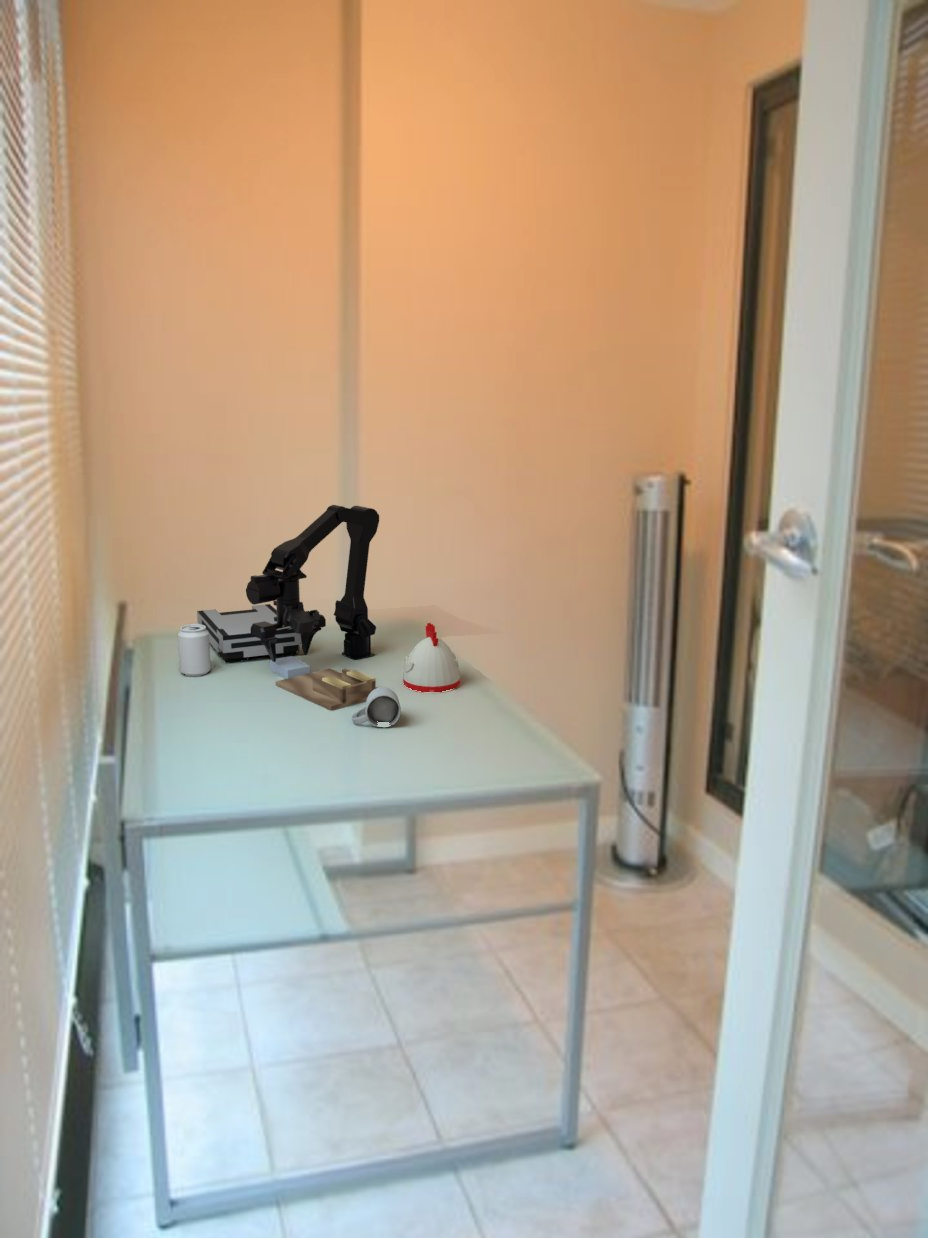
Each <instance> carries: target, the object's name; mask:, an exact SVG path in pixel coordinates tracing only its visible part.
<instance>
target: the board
mask: <svg viewBox="0 0 928 1238" xmlns="http://www.w3.org/2000/svg"><path fill="white" fill-rule="evenodd" d="M376 679H377V678H376V677H373V676H370V675H369V674H366V673H363V672H360V671H358V670H356V669H355V670H350V669H347V668H342V669H341V672H339V671H337V670H335V669H332V668H326V669H321V670H318V671H313V672H310V673H309V674H305V675H300V676H296V677H292V678H288V679H285V678H283V679H280V680H276V681H275V686H276V687H278V688H281V689H282V690H285V691H287V692H289V693H291V694H293V695H296V696H298V697H301V698H303V699H304V700H307V701H309V702H311V703H313V704H315V705H318V706H320V707H322V708H324V709H327V710H329V711H330V712H331V711H334V710H338V709H339V710H340V709H342V708H347V707H350V706H354V705H357V704H360V703H364V702H365V703H366V700H367V697H368V695H369V694H370V693H371V692H372V691H373V690H374V689H376V688H378V687H377V686H376V683H377V682H376V681H377V680H376Z"/></svg>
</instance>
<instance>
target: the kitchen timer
mask: <svg viewBox="0 0 928 1238" xmlns="http://www.w3.org/2000/svg"><path fill="white" fill-rule="evenodd" d="M424 626H425V625H424ZM437 634H438V633H437V631H436V626H435V625H434V624H433V623H432V622H427V624H426V626H425V635H426V637H425V638H423V639H422V640H420V641H419V642H418V643H417V644H416V645H415V646H414V647H413V649H412V651H411V652H410V654H409V656H408V655H406V656H405V659H404V666H403V676H402V678H403V679H402V684H403V683H404V684H403V686H404V685H405V686H406V687H408V688H411V689H412V690H417V691H421V692H420V693H424V692H440V693H443V692H442V691H446V690H450V689H453V688H456V687H457V688H459V687H458V685H459V684H460V685H461V675H460V666H459V660H458V657H457V656H456V655H455V653H454V652H453V651H452V649H451V648H450V646H448V645H447V643H446V642H445V641H443V640H442V639H441V638H438V637H437ZM460 685H459V686H460ZM405 686H404V687H405ZM406 687H405V688H406ZM457 688H456V689H457ZM412 690H411V691H412ZM417 691H416V692H417Z"/></svg>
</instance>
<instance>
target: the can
mask: <svg viewBox="0 0 928 1238" xmlns="http://www.w3.org/2000/svg"><path fill="white" fill-rule="evenodd" d="M177 643H178V660H179V661H178V663H179V671H180V673H182V674H183V675H184V674H185V675H184V676H186V677H201V676H204V675H206V674H208V673H209V672H210V671H211V669H212V667H211V666H212V665H211V649H210V647H211V645H210V643H209V632H208V631H207V630H206V626H204V625H201V624H199V623H192V624H191V623H190V624H185V625H182V626H180V627H179V632H178V633H177Z"/></svg>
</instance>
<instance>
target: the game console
mask: <svg viewBox="0 0 928 1238" xmlns="http://www.w3.org/2000/svg"><path fill="white" fill-rule="evenodd" d="M218 611H219V610H217V609H216V608H213V609H206V610H205V609H202V610H197V611H196V613H197V614H196V617H197V624H201V625H204V626H206V630H207V631H208V632H209V643H210V647H212V648H213V650H214V651H215V650H216V651H215V652H216V653H217V654H218V655H219V657H220V658H221V659H222V660H223V661H224V663H225V664H227V663H228V664H229V663H235V662H236V663H237V662H244V661H245V662H246V661H249V658H250V657H259V656H269V654H268V652H267V650H266V648H265V646H264V644H263V643H262V641H261V639H260V638H257V637H256V636H254V635H251V626H252V624H253V623H258V622H263V621H266V622H268V623H271V624H276V623H277V622H276V621H274V617H276V616H277V608H275V607H274V606H272V605H271V603H266V604H265V603H264V604H255V605H251V609H245V610H243V609H242V610H231V611H222V612H218ZM275 637H277V638H278V639H277V641H276V642H275V645H276V658H278V657H279V658H281V657H289V656H295V655H297V656H298V652H300V645H302V642H301V634H298V633H296V632H295V631H294V630H293V629H292V628H290V629H285V630H280V631H277V634H276V635H275Z"/></svg>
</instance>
